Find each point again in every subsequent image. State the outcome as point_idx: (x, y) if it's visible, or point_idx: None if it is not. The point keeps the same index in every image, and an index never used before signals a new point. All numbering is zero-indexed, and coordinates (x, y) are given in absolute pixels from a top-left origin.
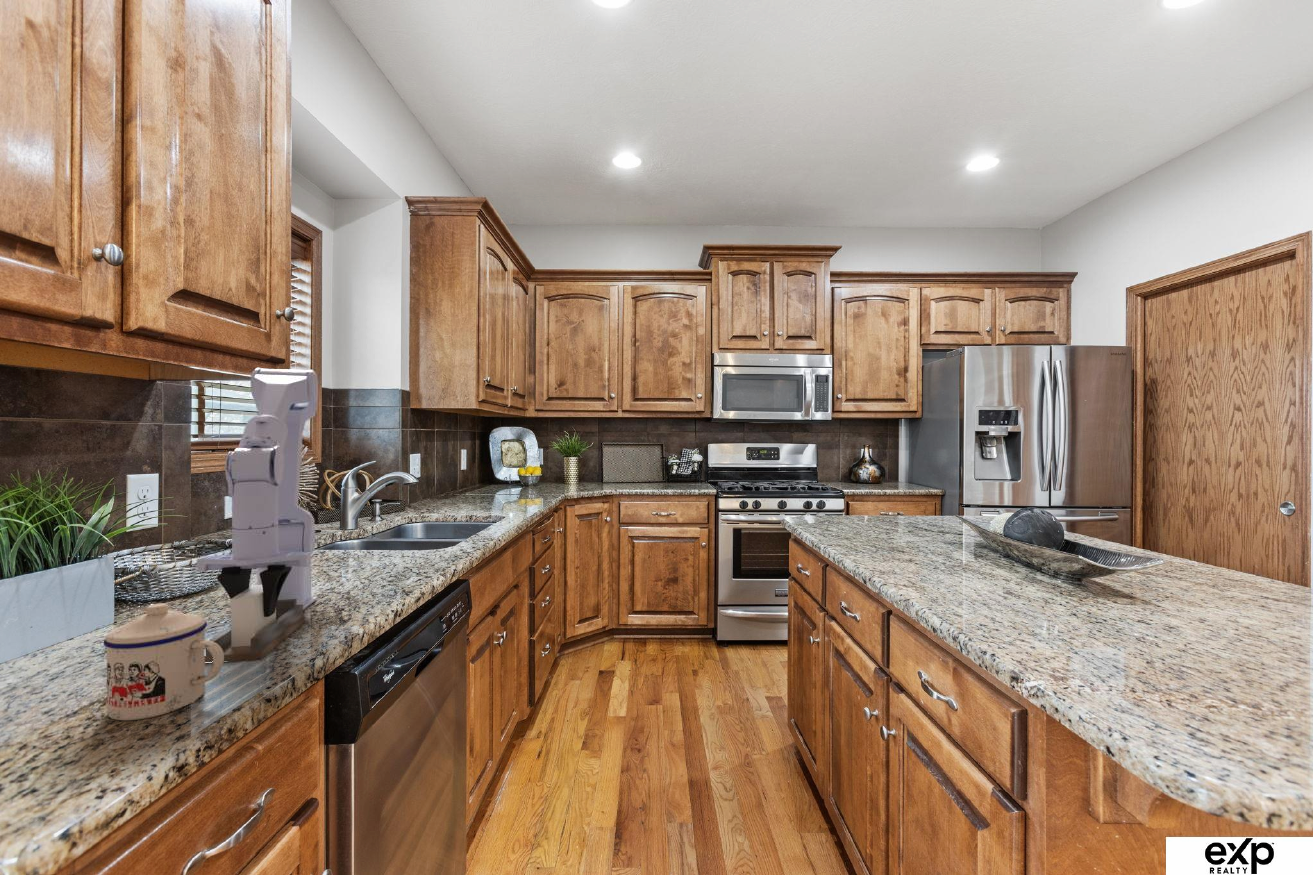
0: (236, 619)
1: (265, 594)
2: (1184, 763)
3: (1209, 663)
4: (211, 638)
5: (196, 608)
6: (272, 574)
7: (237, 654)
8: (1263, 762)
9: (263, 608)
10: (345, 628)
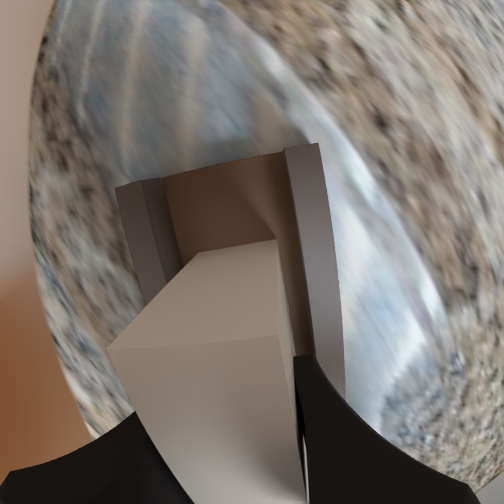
0: (249, 277)
1: (140, 431)
2: None
3: None
4: (325, 191)
5: (482, 461)
6: (3, 487)
7: (204, 168)
8: None
9: None
10: (96, 394)
